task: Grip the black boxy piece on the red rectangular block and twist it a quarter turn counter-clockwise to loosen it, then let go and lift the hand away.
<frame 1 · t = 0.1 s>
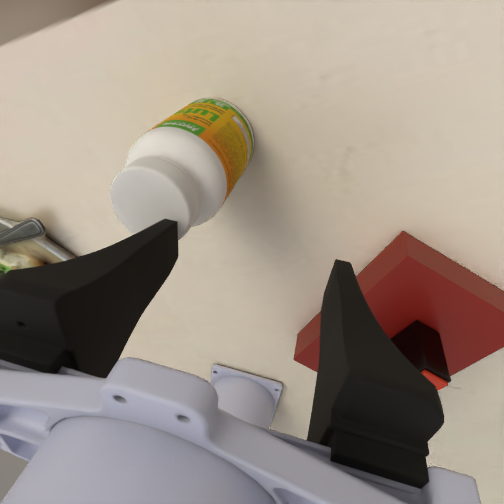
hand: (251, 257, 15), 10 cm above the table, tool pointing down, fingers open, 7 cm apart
black boxy piece: (398, 371, 25), point 5 cm above the table, hinge at 0.0°
supplement bottle: (217, 137, 23), on the table
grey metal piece: (33, 281, 38), on the table
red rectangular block: (393, 318, 29), on the table
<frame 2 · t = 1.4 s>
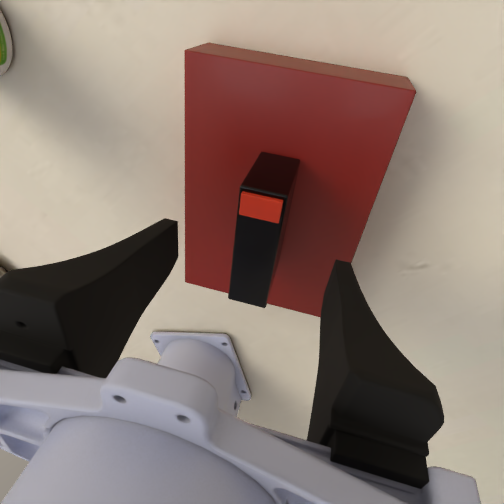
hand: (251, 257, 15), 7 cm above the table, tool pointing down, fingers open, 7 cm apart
black boxy piece: (262, 232, 17), point 5 cm above the table, hinge at 0.0°
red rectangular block: (280, 187, 21), on the table
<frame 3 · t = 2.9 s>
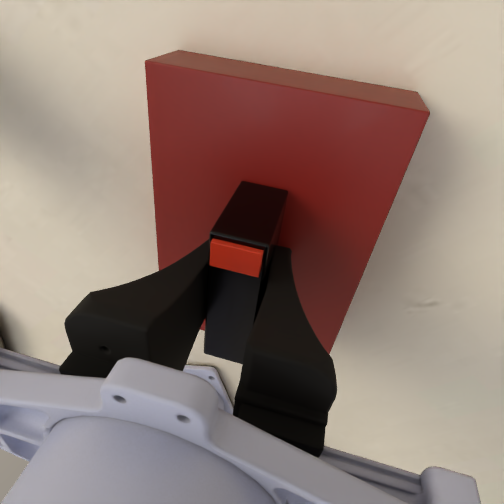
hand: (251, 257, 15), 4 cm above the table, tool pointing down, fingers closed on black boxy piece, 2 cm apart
black boxy piece: (243, 276, 14), point 5 cm above the table, hinge at 0.0°, touching gripper
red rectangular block: (268, 215, 18), on the table
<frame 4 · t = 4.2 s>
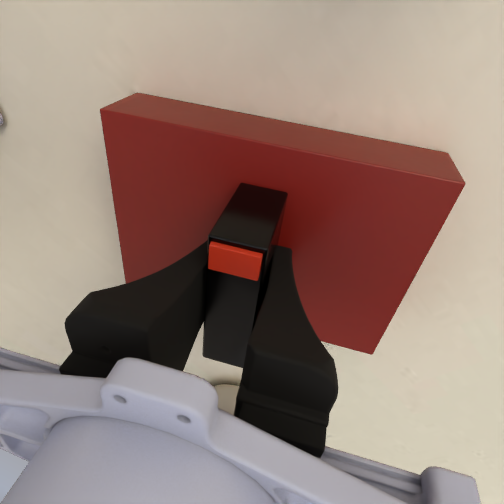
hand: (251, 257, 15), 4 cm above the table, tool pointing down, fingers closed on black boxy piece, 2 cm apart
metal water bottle: (240, 394, 30), on the table
black boxy piece: (242, 279, 14), point 5 cm above the table, hinge at 90.0°, touching gripper
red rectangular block: (268, 216, 18), on the table
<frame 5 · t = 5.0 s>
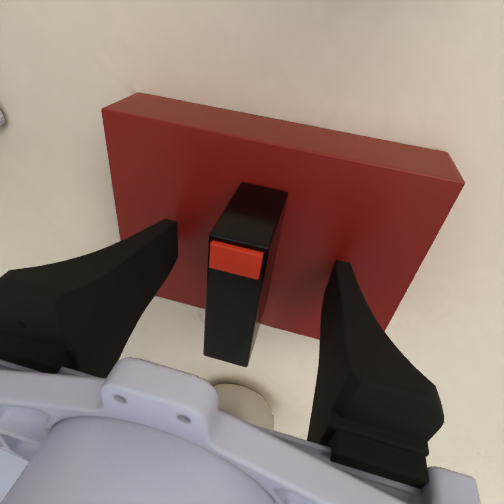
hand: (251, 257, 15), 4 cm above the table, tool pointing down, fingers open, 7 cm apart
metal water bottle: (240, 394, 30), on the table
black boxy piece: (243, 278, 14), point 5 cm above the table, hinge at 90.0°
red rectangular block: (268, 216, 18), on the table
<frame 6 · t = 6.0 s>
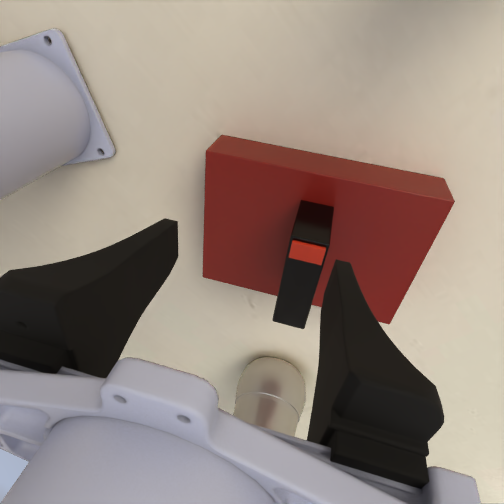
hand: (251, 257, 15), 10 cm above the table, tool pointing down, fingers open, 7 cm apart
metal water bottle: (276, 367, 36), on the table
black boxy piece: (302, 266, 21), point 5 cm above the table, hinge at 90.0°
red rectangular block: (311, 222, 25), on the table
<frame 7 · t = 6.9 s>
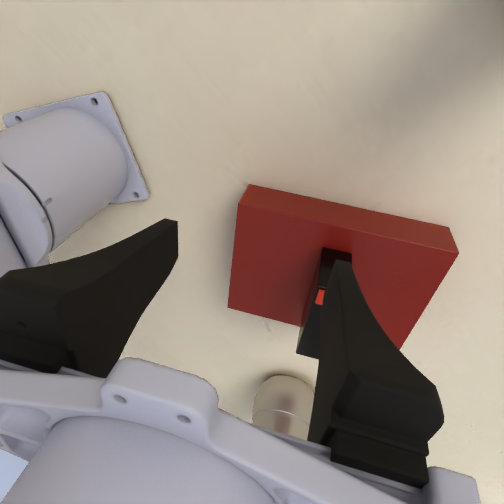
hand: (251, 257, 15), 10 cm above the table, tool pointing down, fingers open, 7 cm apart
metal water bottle: (289, 384, 38), on the table
black boxy piece: (323, 305, 23), point 5 cm above the table, hinge at 90.0°
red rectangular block: (328, 259, 27), on the table
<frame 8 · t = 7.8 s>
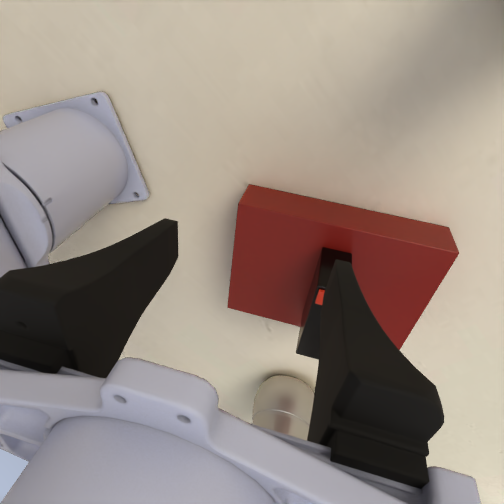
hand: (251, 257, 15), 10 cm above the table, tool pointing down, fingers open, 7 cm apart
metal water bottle: (289, 384, 38), on the table
black boxy piece: (323, 305, 23), point 5 cm above the table, hinge at 90.0°
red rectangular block: (328, 259, 27), on the table
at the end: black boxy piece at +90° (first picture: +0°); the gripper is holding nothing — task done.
